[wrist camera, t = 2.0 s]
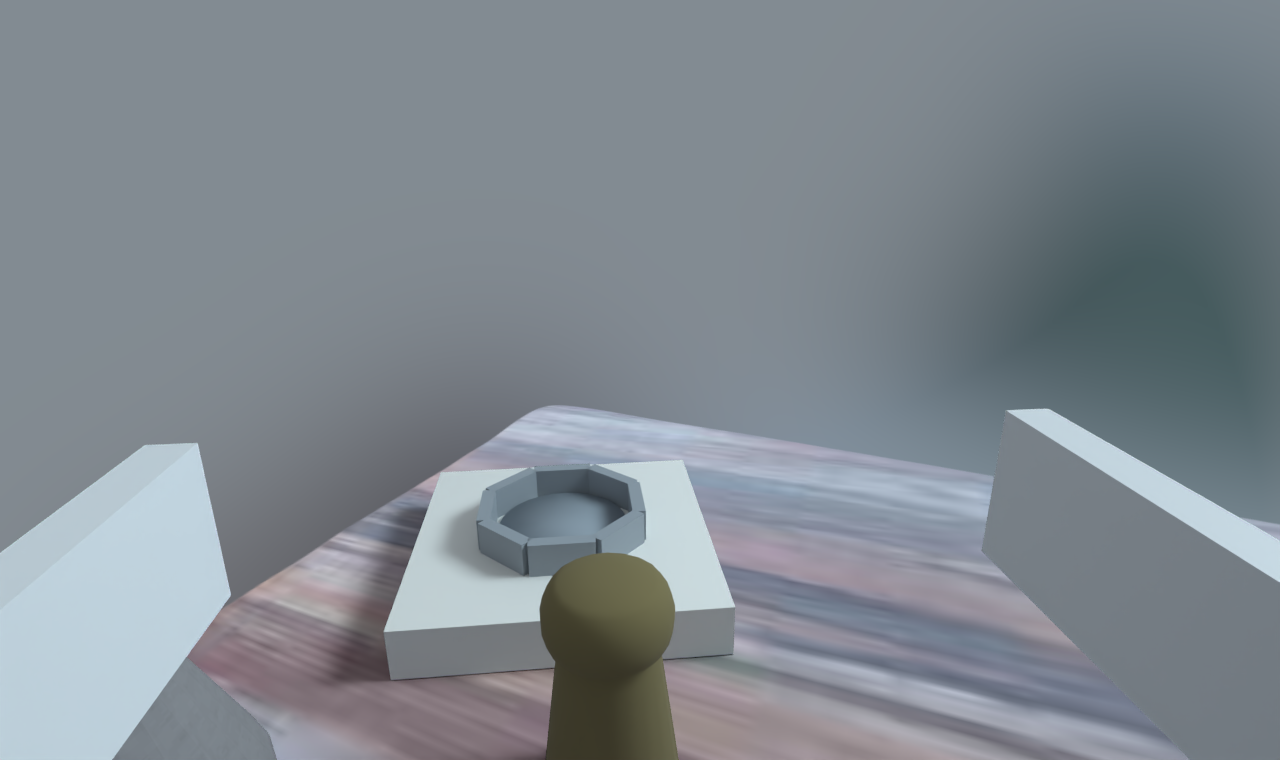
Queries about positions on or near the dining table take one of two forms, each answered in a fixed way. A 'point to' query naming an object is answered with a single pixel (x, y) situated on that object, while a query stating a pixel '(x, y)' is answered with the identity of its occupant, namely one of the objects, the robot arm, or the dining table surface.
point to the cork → (609, 659)
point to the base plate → (547, 563)
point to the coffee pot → (196, 724)
